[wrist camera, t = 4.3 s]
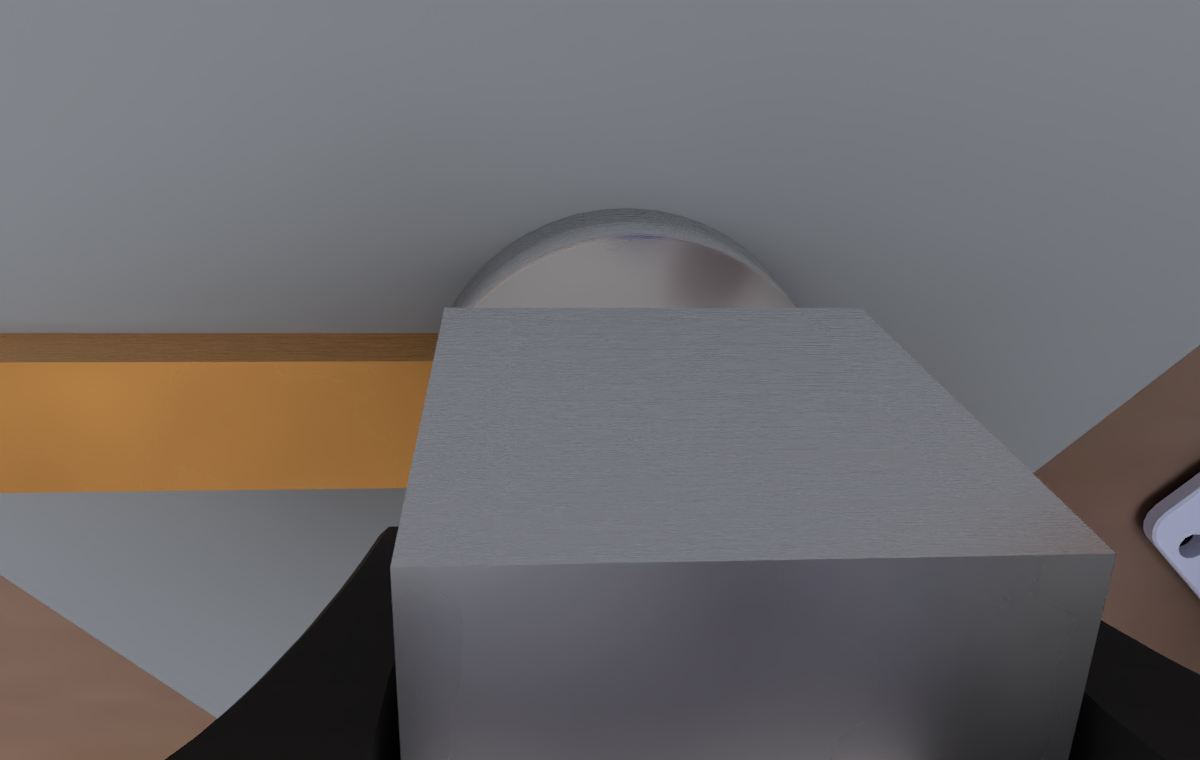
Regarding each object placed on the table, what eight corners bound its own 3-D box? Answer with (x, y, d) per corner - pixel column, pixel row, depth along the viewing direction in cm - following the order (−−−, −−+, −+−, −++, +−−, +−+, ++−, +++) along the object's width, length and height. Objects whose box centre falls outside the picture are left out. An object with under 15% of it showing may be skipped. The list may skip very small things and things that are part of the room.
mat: (1398, 167, 18) (1421, 174, 17) (485, 876, 23) (484, 895, 22) (641, -1099, 11) (646, -1141, 11) (-401, 281, 16) (-428, 292, 16)
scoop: (12, 564, 18) (-173, 798, 13) (-72, 201, 16) (-338, 327, 11) (788, 551, 19) (879, 763, 14) (827, 209, 17) (956, 326, 12)
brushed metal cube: (861, 307, 13) (1115, 553, 8) (818, 653, 15) (999, 1054, 9) (444, 307, 13) (391, 568, 7) (455, 663, 15) (418, 1088, 9)
